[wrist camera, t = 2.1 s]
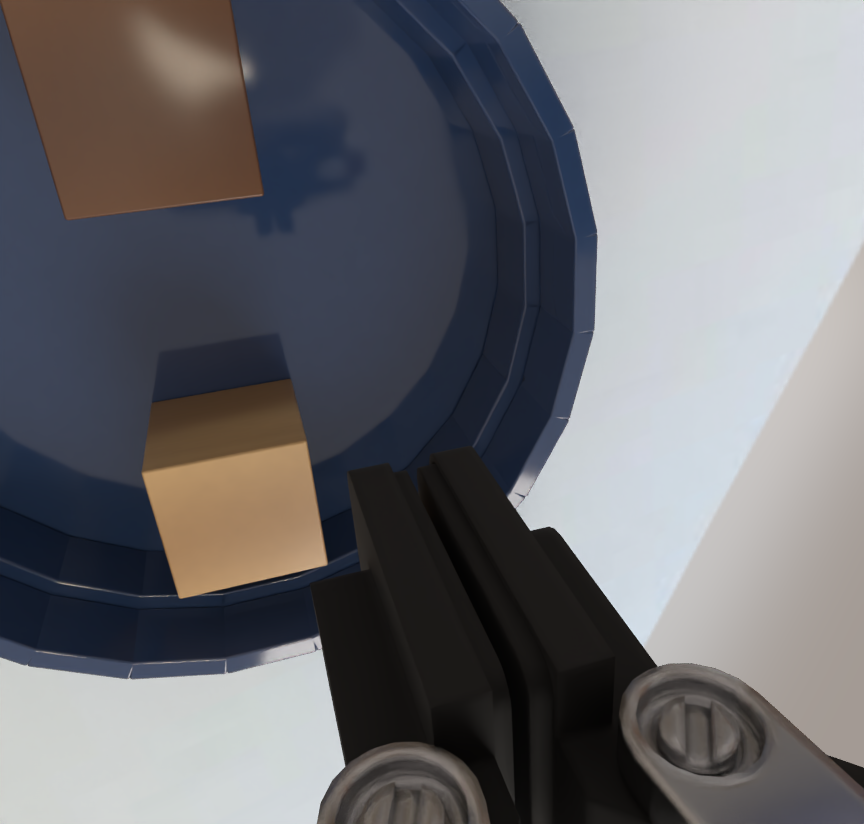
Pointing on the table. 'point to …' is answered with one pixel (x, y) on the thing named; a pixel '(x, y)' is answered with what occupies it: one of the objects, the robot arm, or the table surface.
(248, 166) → the walnut block
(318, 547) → the maple block
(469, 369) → the bowl
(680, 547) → the table surface
